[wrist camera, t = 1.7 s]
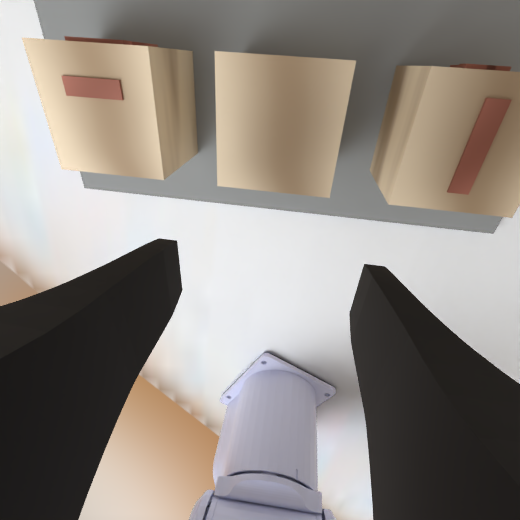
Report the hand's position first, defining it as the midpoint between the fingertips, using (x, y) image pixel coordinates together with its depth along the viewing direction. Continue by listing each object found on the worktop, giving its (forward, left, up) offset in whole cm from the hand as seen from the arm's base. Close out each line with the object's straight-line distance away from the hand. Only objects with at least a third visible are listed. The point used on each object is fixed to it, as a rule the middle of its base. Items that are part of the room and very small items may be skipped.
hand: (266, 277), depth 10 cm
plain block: (+3, +2, -10) cm, 11 cm away
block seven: (0, +9, -10) cm, 13 cm away
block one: (+6, -5, -10) cm, 13 cm away
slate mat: (+3, +2, -10) cm, 11 cm away
